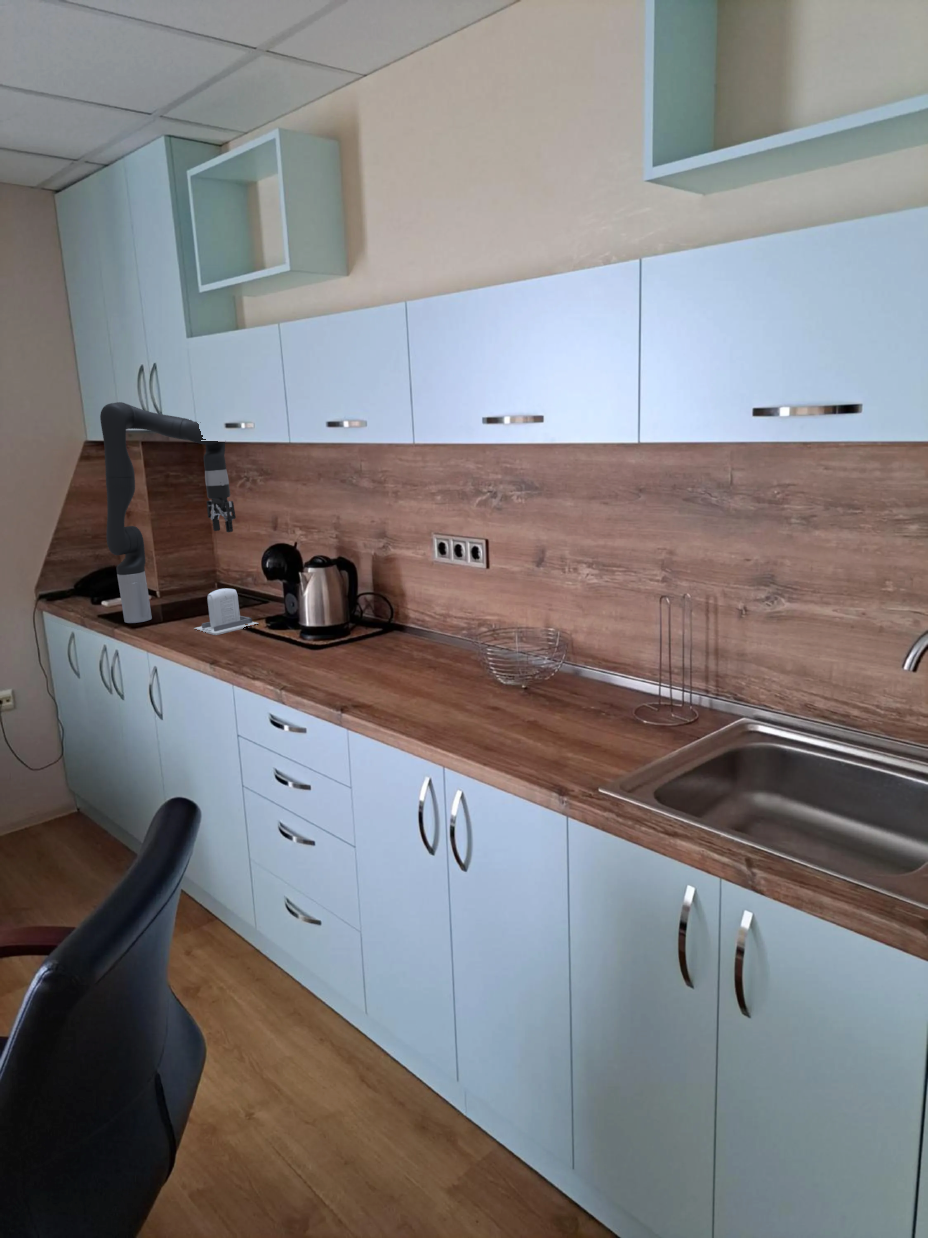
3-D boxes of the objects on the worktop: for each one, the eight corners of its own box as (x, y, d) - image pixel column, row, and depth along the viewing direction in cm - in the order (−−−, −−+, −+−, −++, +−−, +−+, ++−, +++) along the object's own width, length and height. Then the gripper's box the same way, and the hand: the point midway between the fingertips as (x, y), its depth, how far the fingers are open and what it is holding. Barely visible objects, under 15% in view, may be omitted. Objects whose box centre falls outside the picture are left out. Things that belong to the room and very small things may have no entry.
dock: (194, 629, 298) (193, 623, 297) (236, 619, 309) (235, 613, 308) (215, 635, 288) (214, 628, 288) (258, 624, 299) (257, 618, 298)
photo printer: (236, 621, 303) (231, 585, 300) (243, 623, 300) (238, 586, 297) (208, 628, 296) (203, 591, 293) (215, 629, 293) (210, 592, 290)
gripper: (196, 484, 305) (203, 531, 309) (218, 485, 295) (224, 534, 299) (216, 482, 311) (222, 528, 314) (238, 482, 301) (244, 530, 304)
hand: (223, 531), depth 307 cm, fingers open, 8 cm apart
